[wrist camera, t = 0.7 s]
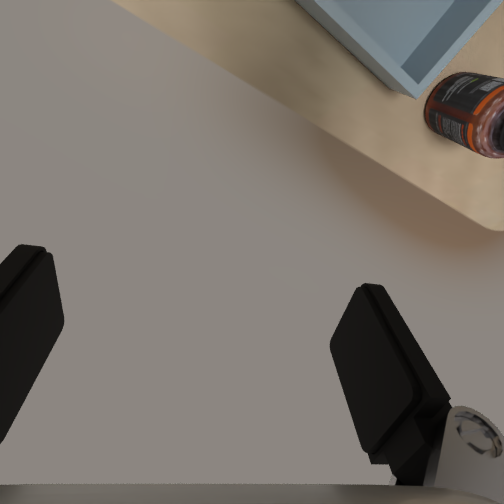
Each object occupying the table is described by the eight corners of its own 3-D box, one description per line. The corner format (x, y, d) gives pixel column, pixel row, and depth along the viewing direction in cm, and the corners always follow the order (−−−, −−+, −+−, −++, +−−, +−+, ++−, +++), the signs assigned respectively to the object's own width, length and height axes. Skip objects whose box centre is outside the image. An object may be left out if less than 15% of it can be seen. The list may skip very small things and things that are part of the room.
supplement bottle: (448, 142, 36) (525, 184, 27) (410, 115, 34) (479, 149, 25) (493, 91, 33) (597, 117, 24) (455, 57, 31) (552, 72, 22)
